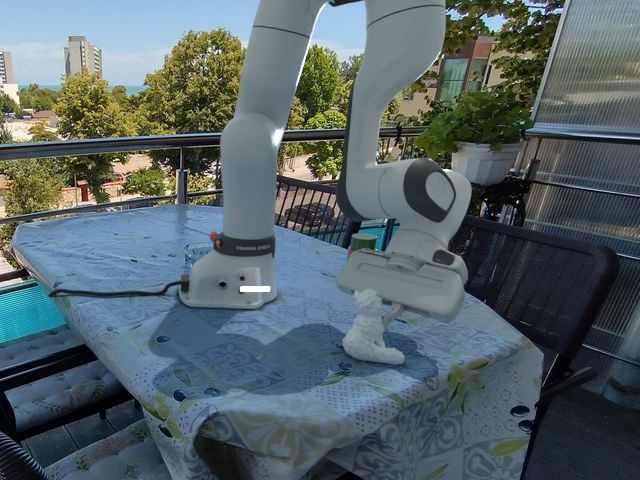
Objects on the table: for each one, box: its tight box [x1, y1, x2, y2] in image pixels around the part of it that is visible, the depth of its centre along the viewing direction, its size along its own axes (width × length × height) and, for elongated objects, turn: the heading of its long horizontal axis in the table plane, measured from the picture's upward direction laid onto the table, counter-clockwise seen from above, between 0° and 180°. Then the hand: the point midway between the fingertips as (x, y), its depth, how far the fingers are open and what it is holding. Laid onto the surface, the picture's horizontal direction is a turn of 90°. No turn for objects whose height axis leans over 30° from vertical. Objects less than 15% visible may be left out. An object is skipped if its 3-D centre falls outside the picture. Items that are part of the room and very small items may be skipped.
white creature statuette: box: [341, 288, 405, 366], centre depth 78 cm, size 10×9×12 cm
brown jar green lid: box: [345, 232, 378, 264], centre depth 113 cm, size 6×6×10 cm
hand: (375, 326), depth 79 cm, fingers closed
